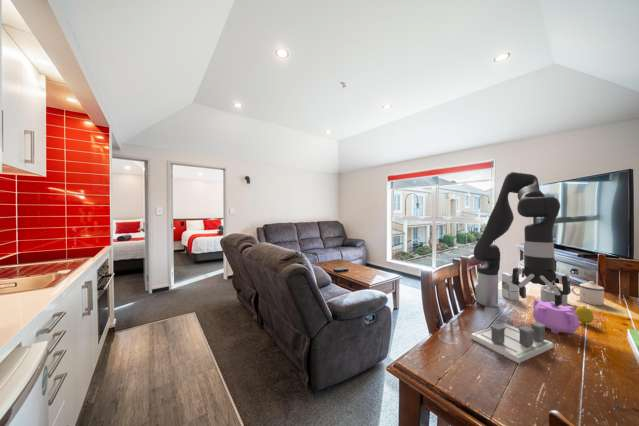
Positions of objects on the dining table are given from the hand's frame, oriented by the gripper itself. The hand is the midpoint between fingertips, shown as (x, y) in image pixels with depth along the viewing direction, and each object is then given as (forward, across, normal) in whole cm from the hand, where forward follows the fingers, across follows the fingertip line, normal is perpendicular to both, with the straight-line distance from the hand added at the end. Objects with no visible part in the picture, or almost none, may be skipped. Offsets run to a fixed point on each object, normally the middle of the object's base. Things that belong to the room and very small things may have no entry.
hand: (539, 301), depth 77 cm
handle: (+18, +4, -12) cm, 22 cm away
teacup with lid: (+21, +3, -91) cm, 93 cm away
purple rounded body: (+21, +4, -34) cm, 40 cm away
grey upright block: (+18, +11, +3) cm, 22 cm away
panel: (+21, +10, -5) cm, 23 cm away
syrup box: (+20, +28, -60) cm, 70 cm away
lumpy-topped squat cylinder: (+20, +13, -73) cm, 77 cm away
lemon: (+21, -2, -52) cm, 56 cm away
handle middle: (+18, +5, -4) cm, 19 cm away
